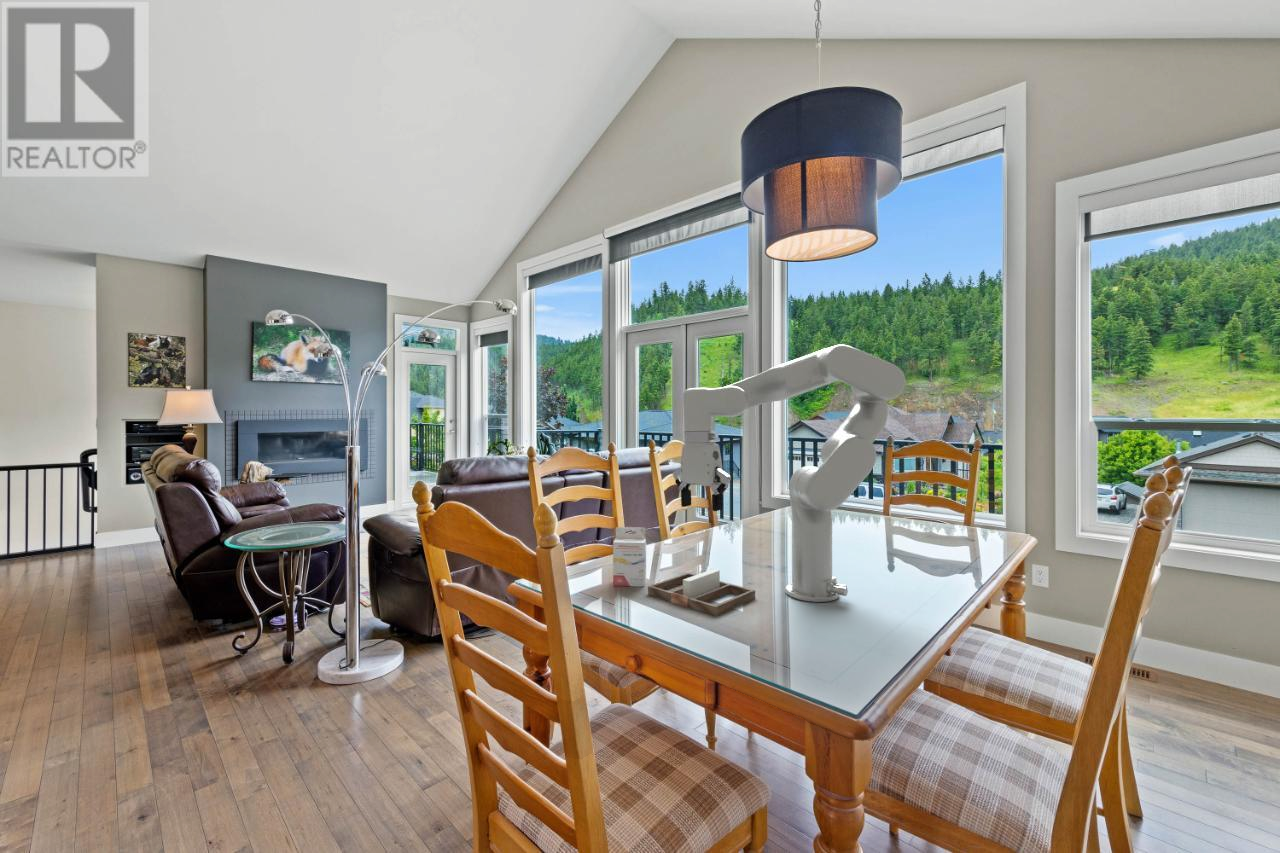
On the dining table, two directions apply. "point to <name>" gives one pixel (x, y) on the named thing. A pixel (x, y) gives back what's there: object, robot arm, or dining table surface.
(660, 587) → the rack
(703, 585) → the panel
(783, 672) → the dining table surface
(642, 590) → the dining table surface
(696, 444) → the robot arm
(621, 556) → the ink cartridge box
